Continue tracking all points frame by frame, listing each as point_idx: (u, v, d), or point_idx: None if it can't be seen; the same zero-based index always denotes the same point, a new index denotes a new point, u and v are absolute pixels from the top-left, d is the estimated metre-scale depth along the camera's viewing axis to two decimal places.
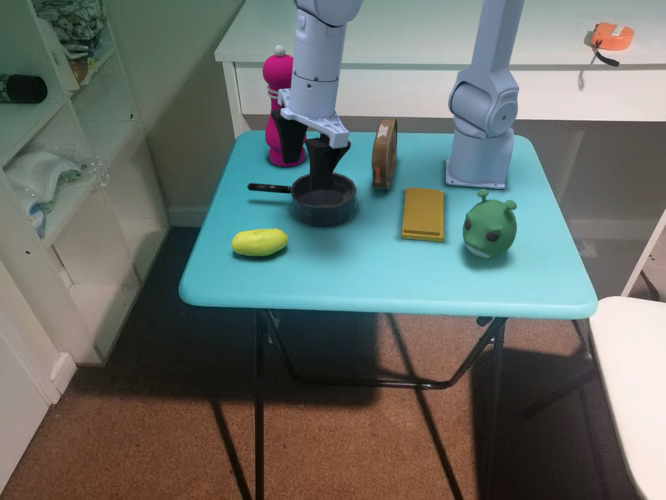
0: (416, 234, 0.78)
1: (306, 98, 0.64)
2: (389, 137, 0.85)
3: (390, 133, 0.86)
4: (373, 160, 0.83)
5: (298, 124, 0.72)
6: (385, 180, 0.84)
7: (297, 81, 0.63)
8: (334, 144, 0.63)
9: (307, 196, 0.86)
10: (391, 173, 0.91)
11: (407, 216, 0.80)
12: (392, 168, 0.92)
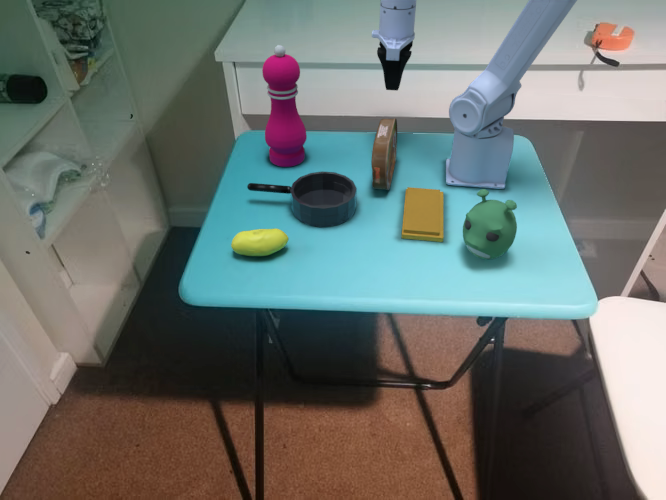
0: (416, 234, 0.78)
1: (383, 21, 0.86)
2: (389, 137, 0.85)
3: (390, 133, 0.86)
4: (373, 160, 0.83)
5: None
6: (385, 180, 0.84)
7: (380, 8, 0.86)
8: (387, 56, 0.84)
9: (307, 196, 0.86)
10: (391, 173, 0.91)
11: (407, 216, 0.80)
12: (392, 168, 0.92)
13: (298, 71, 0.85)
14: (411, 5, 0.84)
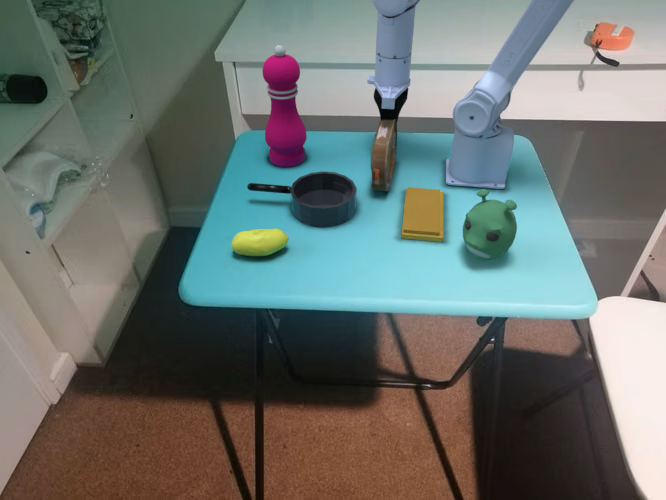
0: (416, 234, 0.78)
1: (378, 69, 0.86)
2: (388, 138, 0.84)
3: (389, 134, 0.85)
4: (372, 161, 0.83)
5: None
6: (384, 181, 0.83)
7: None
8: (382, 105, 0.85)
9: (307, 196, 0.86)
10: (390, 174, 0.91)
11: (407, 216, 0.80)
12: (392, 169, 0.92)
13: (298, 71, 0.85)
14: (409, 53, 0.85)
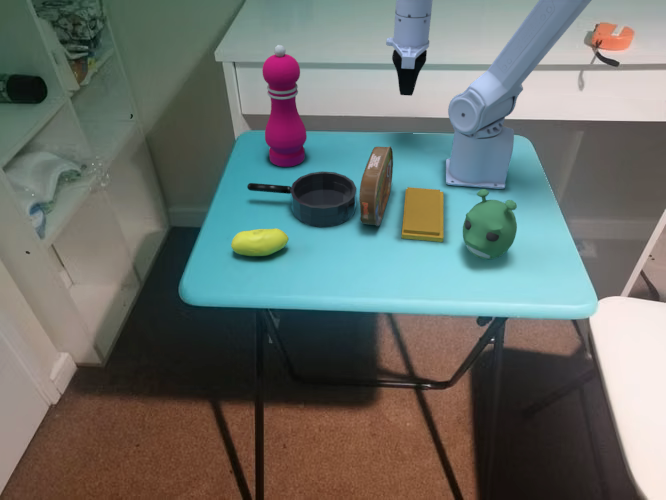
0: (416, 234, 0.78)
1: (398, 29, 0.86)
2: (380, 169, 0.78)
3: (382, 164, 0.78)
4: (361, 194, 0.76)
5: None
6: (374, 216, 0.77)
7: (395, 16, 0.86)
8: (402, 65, 0.84)
9: (307, 196, 0.86)
10: (384, 206, 0.84)
11: (407, 216, 0.80)
12: (385, 200, 0.85)
13: (298, 71, 0.85)
14: (426, 14, 0.84)
